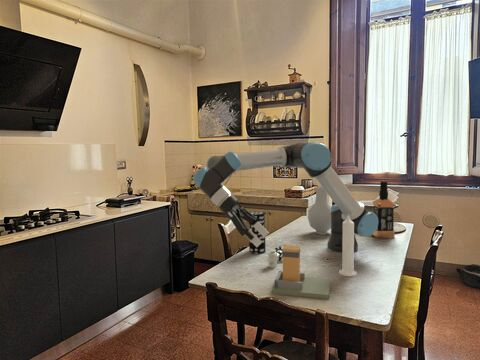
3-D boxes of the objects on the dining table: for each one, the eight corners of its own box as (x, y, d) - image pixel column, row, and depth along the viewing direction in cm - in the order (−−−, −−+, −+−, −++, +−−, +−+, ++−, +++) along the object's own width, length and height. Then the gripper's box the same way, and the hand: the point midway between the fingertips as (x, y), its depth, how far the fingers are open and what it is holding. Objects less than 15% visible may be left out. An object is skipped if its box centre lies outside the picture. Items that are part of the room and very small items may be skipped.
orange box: (300, 281, 134) (300, 245, 132) (299, 286, 129) (298, 249, 127) (284, 280, 135) (284, 245, 134) (282, 285, 130) (282, 248, 129)
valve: (278, 269, 152) (287, 260, 162) (277, 254, 151) (287, 247, 162) (264, 267, 155) (274, 258, 165) (263, 252, 154) (273, 245, 165)
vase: (339, 231, 212) (339, 186, 209) (331, 238, 199) (331, 189, 196) (313, 228, 221) (313, 185, 218) (303, 234, 207) (303, 188, 205)
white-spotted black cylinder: (264, 254, 172) (263, 214, 170) (248, 253, 174) (247, 214, 172) (266, 249, 180) (265, 211, 178) (250, 248, 182) (250, 211, 180)
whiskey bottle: (395, 238, 195) (396, 181, 192) (377, 238, 195) (378, 182, 192) (387, 233, 205) (388, 180, 202) (371, 233, 206) (371, 180, 202)
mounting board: (329, 282, 136) (329, 272, 135) (329, 299, 121) (329, 288, 121) (279, 278, 141) (279, 268, 140) (272, 293, 126) (272, 283, 126)
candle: (336, 270, 148) (336, 213, 145) (352, 270, 148) (353, 212, 146) (342, 277, 140) (343, 216, 138) (359, 276, 141) (360, 215, 139)
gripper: (228, 201, 148) (263, 237, 146) (207, 213, 125) (249, 256, 122) (239, 189, 147) (275, 225, 144) (221, 198, 123) (263, 242, 120)
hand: (263, 239), depth 133 cm, fingers open, 13 cm apart
